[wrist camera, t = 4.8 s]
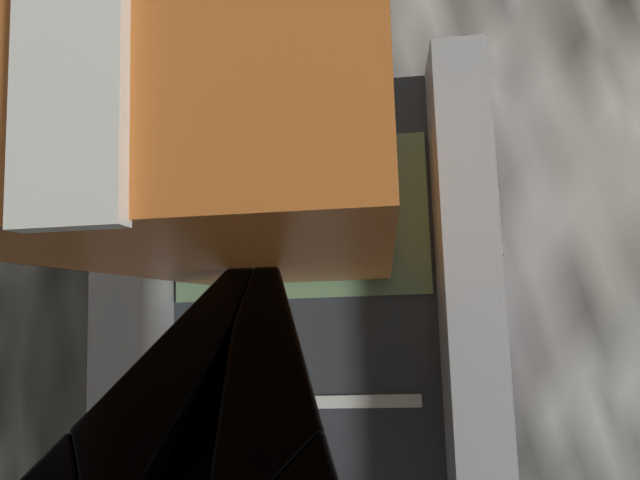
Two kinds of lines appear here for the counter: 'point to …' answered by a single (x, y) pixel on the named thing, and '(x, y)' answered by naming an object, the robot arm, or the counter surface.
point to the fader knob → (199, 137)
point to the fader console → (388, 303)
